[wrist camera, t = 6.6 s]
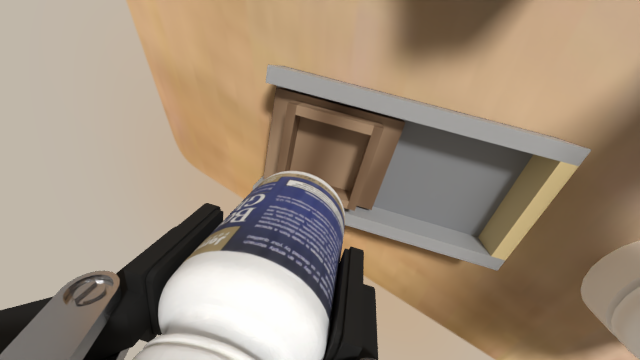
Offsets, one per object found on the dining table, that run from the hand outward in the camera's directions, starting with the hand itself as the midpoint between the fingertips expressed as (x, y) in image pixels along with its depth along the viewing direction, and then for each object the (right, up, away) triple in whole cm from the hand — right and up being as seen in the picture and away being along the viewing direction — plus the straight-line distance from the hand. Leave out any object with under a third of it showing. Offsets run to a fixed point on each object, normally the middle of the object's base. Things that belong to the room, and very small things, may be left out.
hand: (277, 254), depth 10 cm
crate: (+3, +6, +14) cm, 16 cm away
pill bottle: (+1, +1, +3) cm, 4 cm away
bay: (+9, +5, +15) cm, 18 cm away
